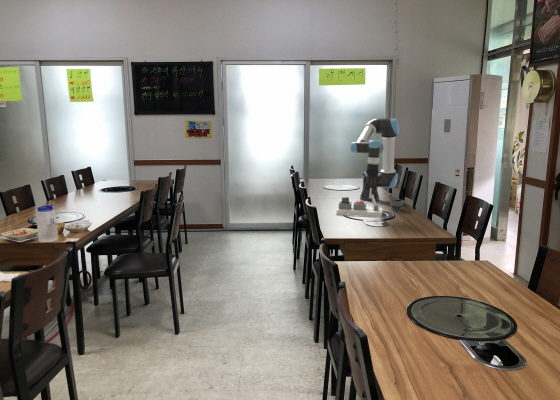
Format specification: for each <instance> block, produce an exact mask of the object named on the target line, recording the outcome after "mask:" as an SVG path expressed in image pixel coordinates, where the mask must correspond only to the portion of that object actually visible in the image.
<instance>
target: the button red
mask: <svg viewBox="0 0 560 400" xmlns="http://www.w3.org/2000/svg"><path fill="white" fill-rule="evenodd" d="M364 201H365V200H361V199H359V200H356V201H355V202H356V204H364V203H365V202H364Z"/></svg>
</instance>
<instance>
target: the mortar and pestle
mask: <svg viewBox="0 0 560 400" xmlns="http://www.w3.org/2000/svg"><path fill="white" fill-rule="evenodd" d="M387 195H388V196H387V197H389V199H390V200H389V205H390V207H391V211H394V212H395V211H396V212H399V211H401V210H402V209H401V208H402V207H403V205H404V204H405V203H404V202H405V200H403V199H399V198H398V199H396V198H395V197H394V196H393V194H392V192H391V193H389V194H387Z"/></svg>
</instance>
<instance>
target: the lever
mask: <svg viewBox="0 0 560 400" xmlns="http://www.w3.org/2000/svg"><path fill="white" fill-rule="evenodd" d="M371 198H372V201H371V202H372V205H373V207H374V206H377V205H378V204H377V201H375V199H374V196H373V195H371Z"/></svg>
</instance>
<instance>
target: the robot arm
mask: <svg viewBox="0 0 560 400" xmlns="http://www.w3.org/2000/svg"><path fill="white" fill-rule="evenodd" d="M399 133H400V123H399V120H398V119H397V118H390V117H389V118H385V117H384V118H382V117H381V118H379V117H378V118H373V119H371V120H369V121H367V122H366V124H365V125H364V126H363V128H362V132H361V134H360V135H359V137H358V139H357V140H356V141H353V142H351V144H350V152H351V153H352V154H353V153H355V154H367V155H368V156H367V165H366V166H367V167H366V170H365V171H364V172H363V173H362V190H361V194H359V195H360V196H359V200H361V201H367V202H368V201H369V202H373V201H372V198H371V195H373V196H374V199H375V202H377V201H379V200H380V195H379V192H378V188H386V189H387V188H388V189H394V188H395V187H396V186H397V182H398V177H399V174H398V172H397V170H396V169H395V141H396V140H395V139H396V138H397V137H398V135H399ZM374 135H380V137H381V138H382V142H381V141H380V140H378V139H377V140H371V138H372V137H373V136H374ZM380 154H382V168H381V169H380V172H379V165H380V156H381V155H380Z"/></svg>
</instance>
